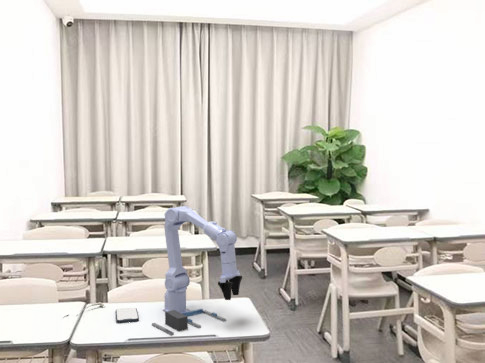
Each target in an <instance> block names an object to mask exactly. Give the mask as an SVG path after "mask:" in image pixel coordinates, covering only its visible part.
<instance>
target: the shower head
mask: <svg viewBox="0 0 485 363" xmlns="http://www.w3.org/2000/svg"><path fill="white" fill-rule="evenodd" d="M104 305H105V304H104V303H102V302H101V301H99V302H96V303H91V305H88V306H86V307H84V308H83V309H82V310H80V311H81V312H83V311H85V310H86V309H88V308H91V307H93V306H100V307H101V308H104V307H103V306H104Z"/></svg>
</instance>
